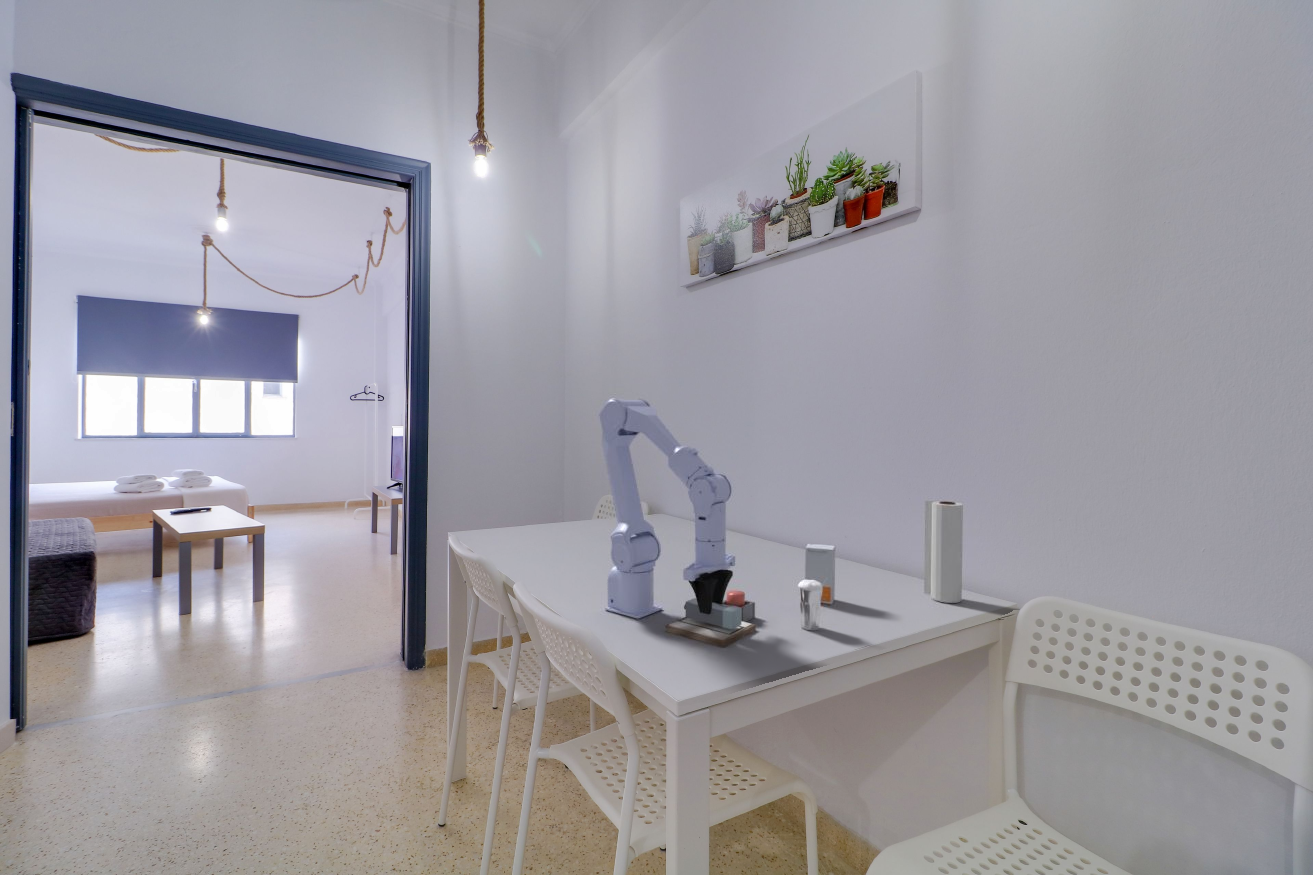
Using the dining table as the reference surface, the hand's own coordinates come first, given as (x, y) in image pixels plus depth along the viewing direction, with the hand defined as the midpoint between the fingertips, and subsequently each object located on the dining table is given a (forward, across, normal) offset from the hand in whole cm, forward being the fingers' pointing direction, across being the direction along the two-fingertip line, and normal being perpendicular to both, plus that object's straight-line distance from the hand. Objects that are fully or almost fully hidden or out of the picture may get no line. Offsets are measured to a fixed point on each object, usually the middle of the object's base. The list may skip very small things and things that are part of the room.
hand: (710, 610), depth 114 cm
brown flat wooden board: (+4, 0, 0) cm, 4 cm away
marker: (+2, 0, 0) cm, 2 cm away
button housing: (+4, +9, 0) cm, 10 cm away
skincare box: (+4, +30, -8) cm, 31 cm away
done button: (+2, +9, 0) cm, 9 cm away
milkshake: (+4, +13, -14) cm, 20 cm away
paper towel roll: (+4, +48, -30) cm, 56 cm away
